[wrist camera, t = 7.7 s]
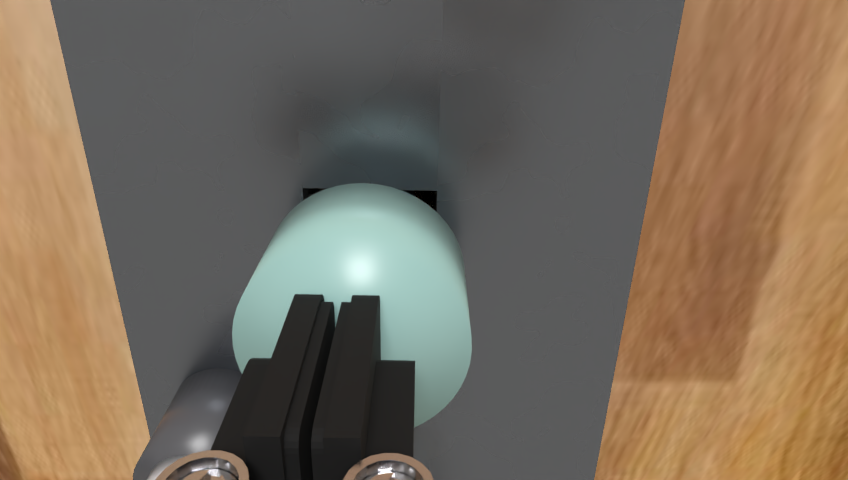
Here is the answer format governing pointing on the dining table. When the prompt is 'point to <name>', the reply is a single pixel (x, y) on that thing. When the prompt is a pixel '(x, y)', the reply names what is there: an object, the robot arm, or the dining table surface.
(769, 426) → the dining table surface
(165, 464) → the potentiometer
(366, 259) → the teal knob
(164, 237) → the mount
